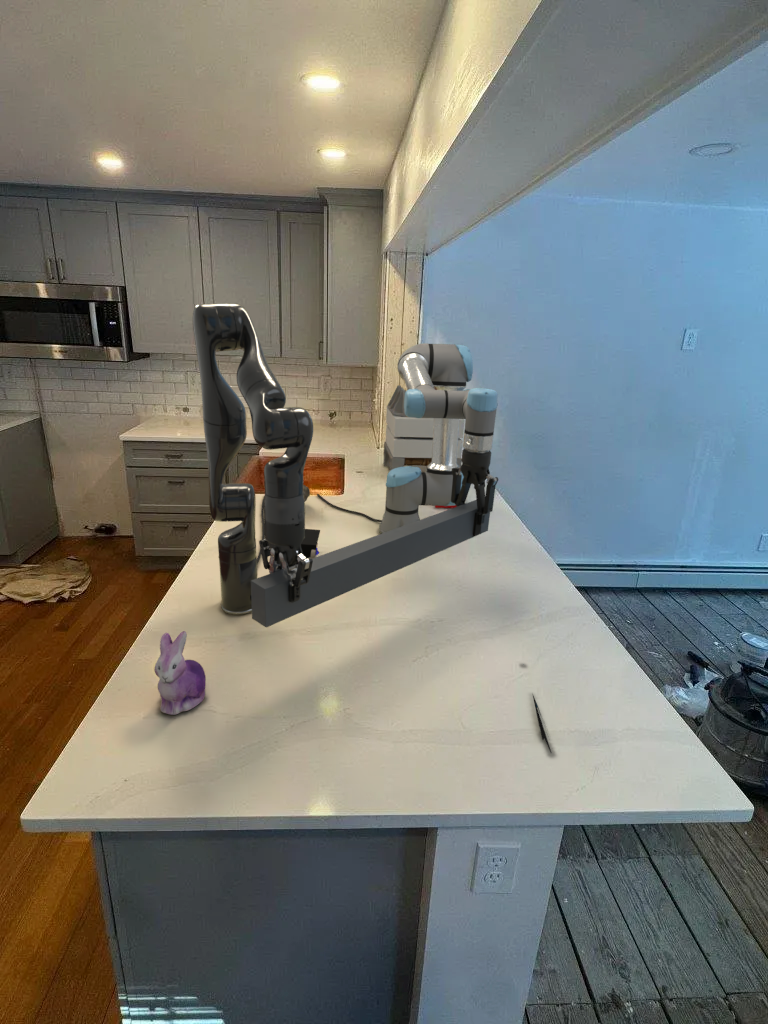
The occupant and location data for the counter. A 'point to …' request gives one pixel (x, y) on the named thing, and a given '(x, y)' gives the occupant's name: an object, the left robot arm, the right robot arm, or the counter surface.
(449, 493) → the right robot arm
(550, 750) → the feather
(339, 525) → the counter surface
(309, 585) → the beam
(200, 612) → the counter surface
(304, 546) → the figurine character
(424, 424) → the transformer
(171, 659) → the figurine
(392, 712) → the counter surface
